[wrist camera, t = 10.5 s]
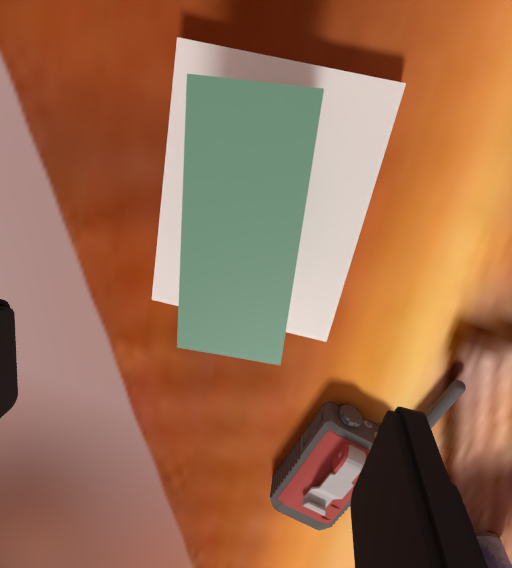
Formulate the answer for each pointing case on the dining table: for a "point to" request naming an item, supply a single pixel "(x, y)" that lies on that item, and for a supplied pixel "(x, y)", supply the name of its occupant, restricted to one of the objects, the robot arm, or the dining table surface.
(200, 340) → the green boxy piece
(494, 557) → the flask
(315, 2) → the dining table surface
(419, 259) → the dining table surface
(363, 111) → the standoff plate
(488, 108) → the dining table surface
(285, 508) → the walkie-talkie
